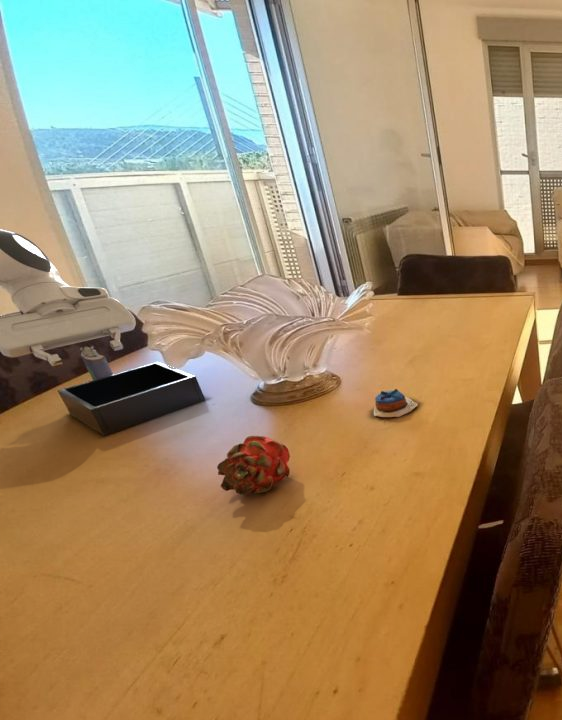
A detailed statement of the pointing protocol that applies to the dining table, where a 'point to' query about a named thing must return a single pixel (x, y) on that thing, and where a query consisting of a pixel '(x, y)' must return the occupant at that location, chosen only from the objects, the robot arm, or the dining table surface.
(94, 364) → the flask
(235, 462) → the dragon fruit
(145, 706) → the dining table surface
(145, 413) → the basin
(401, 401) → the dessert
